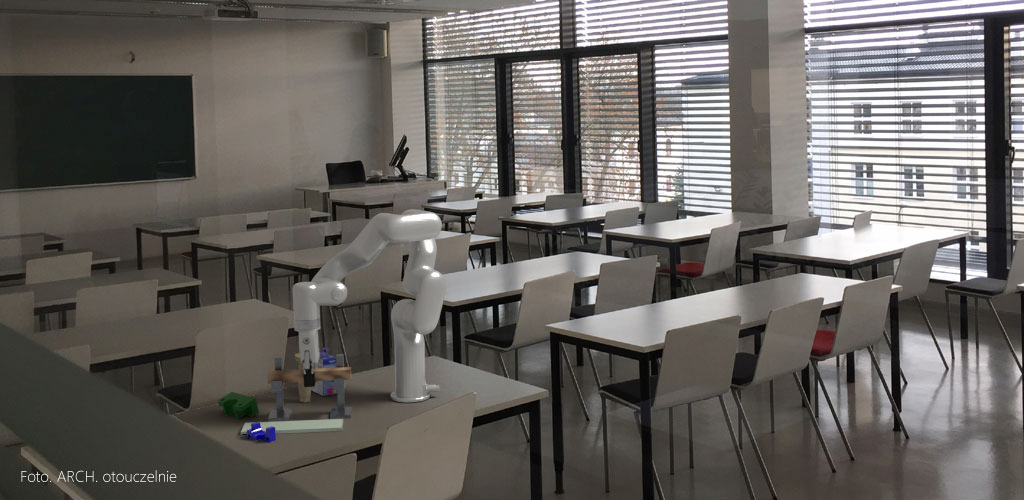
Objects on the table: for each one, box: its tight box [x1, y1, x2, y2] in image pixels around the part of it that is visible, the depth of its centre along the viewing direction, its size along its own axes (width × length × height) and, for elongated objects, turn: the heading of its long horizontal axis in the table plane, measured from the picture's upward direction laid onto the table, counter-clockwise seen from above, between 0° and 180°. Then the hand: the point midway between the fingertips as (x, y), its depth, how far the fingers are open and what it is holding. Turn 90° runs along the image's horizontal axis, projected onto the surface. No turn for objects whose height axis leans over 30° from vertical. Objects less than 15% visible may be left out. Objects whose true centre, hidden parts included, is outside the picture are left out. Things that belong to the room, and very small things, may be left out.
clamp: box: [217, 391, 260, 420], centre depth 283 cm, size 12×6×9 cm, turn 47°
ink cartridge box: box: [311, 346, 337, 397], centre depth 307 cm, size 10×6×14 cm, turn 38°
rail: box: [266, 366, 352, 385], centre depth 279 cm, size 24×3×3 cm, turn 97°
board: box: [240, 418, 344, 435], centre depth 271 cm, size 28×8×1 cm, turn 97°
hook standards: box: [267, 353, 353, 422], centre depth 281 cm, size 24×9×18 cm, turn 97°
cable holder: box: [246, 421, 277, 443], centre depth 262 cm, size 8×4×4 cm, turn 53°
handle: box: [294, 352, 312, 403], centre depth 296 cm, size 5×6×15 cm
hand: (310, 384), depth 280 cm, fingers closed on rail, 3 cm apart
